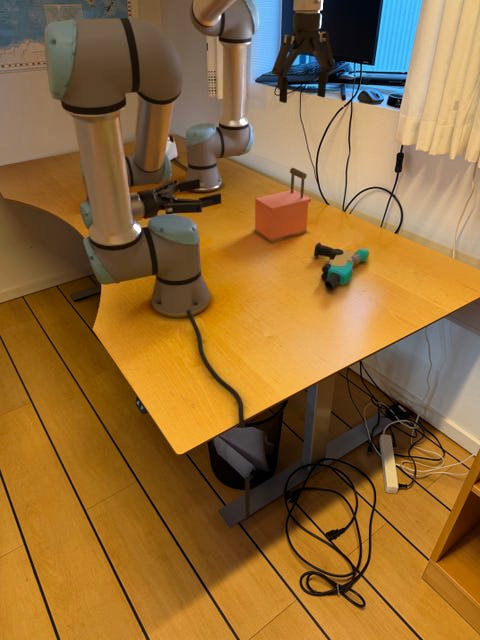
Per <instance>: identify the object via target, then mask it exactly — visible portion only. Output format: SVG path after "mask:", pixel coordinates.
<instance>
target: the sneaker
mask: <svg viewBox="0 0 480 640" xmlns="http://www.w3.org/2000/svg"><path fill="white" fill-rule="evenodd" d="M165 153H167V155H168V156H169V159H170V161H172V160H174V158H176V159H177V157H178V156H179V155H178V149H177V144H176V140H175V136H174V135H173V134H168V140H167V145H166V151H165Z"/></svg>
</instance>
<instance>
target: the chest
mask: <svg viewBox="0 0 480 640" xmlns="http://www.w3.org/2000/svg"><path fill="white" fill-rule="evenodd" d="M254 203H255V204H254V232H255V233H256V234H258V235H259V236H261V237H262V238H263V239H265V240H266V241H268V242H269V243H274V242H278V241H281V240H285V239H289V238H291V237H292V238H293V237H296V236H299V235H302V234H306V233H307V226H308V215H309V214H308V212H309V202H308V203H304V204H300V205H296V206H292V207H288V208H284V209H280V210H276V211H270V210H268V209H267V208H265V207H264V206H262V205H260V204H259V203H257V202H256V201H255V202H254Z"/></svg>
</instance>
